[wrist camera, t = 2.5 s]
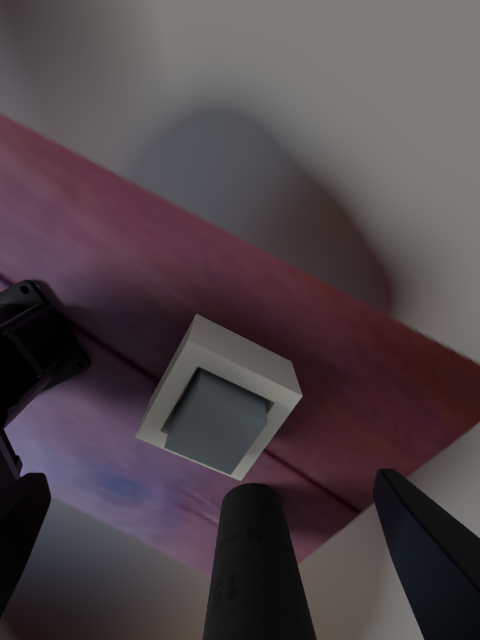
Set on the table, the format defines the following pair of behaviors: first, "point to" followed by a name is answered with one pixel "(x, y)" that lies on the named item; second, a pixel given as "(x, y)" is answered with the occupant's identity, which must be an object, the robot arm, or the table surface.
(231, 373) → the switch box
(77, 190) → the table surface
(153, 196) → the table surface
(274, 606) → the drinking cup
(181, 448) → the button
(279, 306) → the table surface
